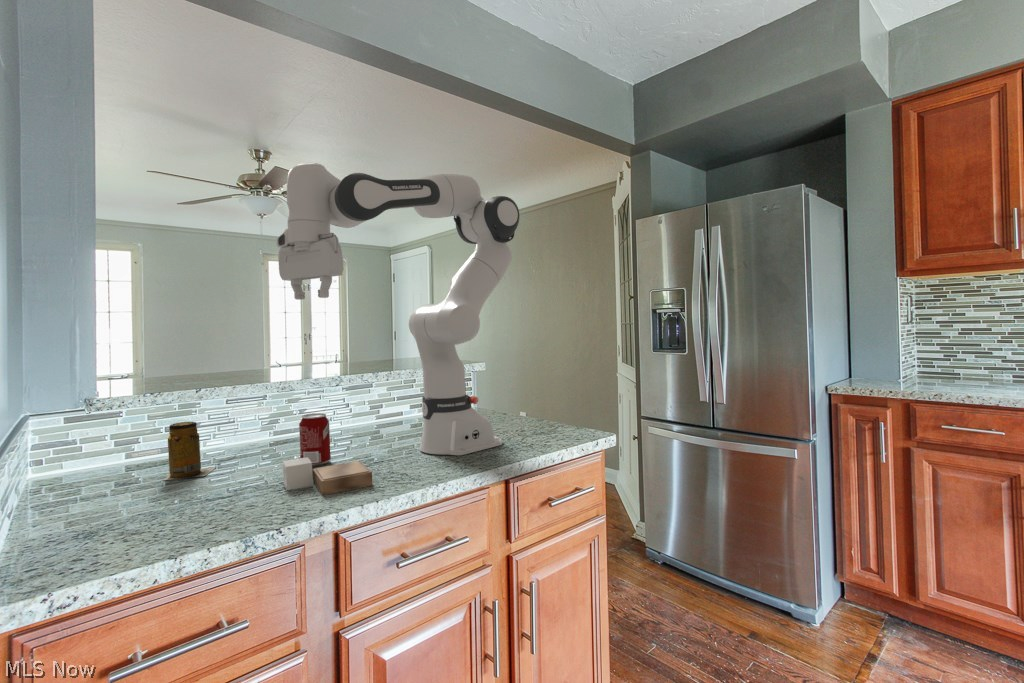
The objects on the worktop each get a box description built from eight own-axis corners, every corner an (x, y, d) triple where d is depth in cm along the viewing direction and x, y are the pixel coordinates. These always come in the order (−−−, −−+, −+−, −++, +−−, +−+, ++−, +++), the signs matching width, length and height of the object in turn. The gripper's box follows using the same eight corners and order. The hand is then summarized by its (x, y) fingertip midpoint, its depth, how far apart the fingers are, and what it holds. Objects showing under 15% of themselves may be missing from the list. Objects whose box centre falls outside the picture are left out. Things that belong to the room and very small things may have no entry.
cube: (308, 479, 106) (307, 457, 106) (312, 485, 102) (311, 462, 101) (283, 484, 103) (282, 461, 103) (286, 490, 99) (285, 466, 99)
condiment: (175, 471, 114) (173, 421, 113) (215, 468, 116) (213, 418, 115) (161, 481, 107) (158, 428, 106) (204, 477, 109) (201, 425, 108)
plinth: (359, 472, 109) (359, 459, 109) (372, 485, 101) (371, 471, 101) (313, 481, 104) (312, 468, 104) (322, 495, 95) (321, 480, 95)
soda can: (320, 468, 113) (318, 418, 113) (294, 467, 115) (292, 417, 114) (336, 460, 120) (334, 412, 120) (312, 459, 121) (310, 412, 121)
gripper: (349, 233, 105) (351, 297, 105) (298, 243, 116) (299, 300, 117) (323, 229, 99) (325, 296, 100) (272, 240, 111) (274, 300, 112)
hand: (311, 298), depth 109 cm, fingers open, 8 cm apart
